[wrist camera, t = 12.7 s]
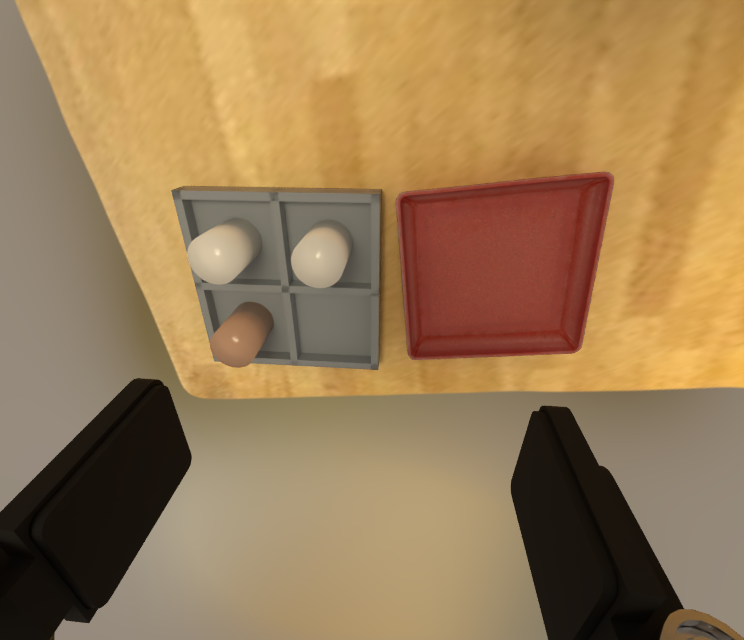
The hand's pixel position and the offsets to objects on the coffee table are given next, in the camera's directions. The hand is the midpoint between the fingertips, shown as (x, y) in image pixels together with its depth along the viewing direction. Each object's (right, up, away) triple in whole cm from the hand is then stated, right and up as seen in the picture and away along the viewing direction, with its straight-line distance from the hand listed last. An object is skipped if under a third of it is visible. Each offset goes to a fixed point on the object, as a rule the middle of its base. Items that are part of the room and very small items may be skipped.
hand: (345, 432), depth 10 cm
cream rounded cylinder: (-4, +11, +28) cm, 30 cm away
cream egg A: (-13, +11, +28) cm, 33 cm away
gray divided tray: (-8, +7, +31) cm, 33 cm away
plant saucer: (+13, +8, +29) cm, 33 cm away
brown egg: (-13, +3, +33) cm, 35 cm away
